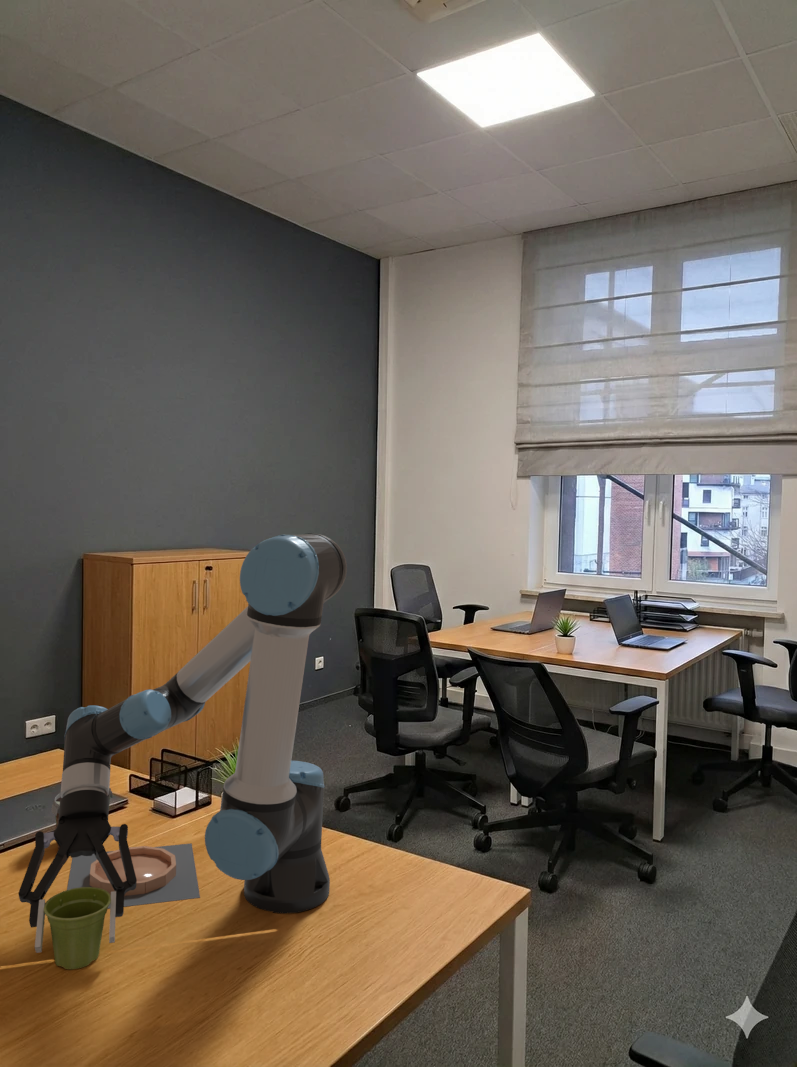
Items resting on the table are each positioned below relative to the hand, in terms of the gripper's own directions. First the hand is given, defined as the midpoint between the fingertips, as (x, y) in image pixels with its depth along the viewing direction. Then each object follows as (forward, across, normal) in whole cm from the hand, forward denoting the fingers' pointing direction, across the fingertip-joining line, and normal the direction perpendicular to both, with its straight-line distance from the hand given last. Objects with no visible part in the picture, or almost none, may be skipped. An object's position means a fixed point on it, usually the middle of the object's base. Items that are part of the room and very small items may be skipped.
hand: (75, 944), depth 115 cm
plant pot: (+1, 0, -5) cm, 5 cm away
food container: (-29, +3, -35) cm, 45 cm away
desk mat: (-16, -8, -22) cm, 29 cm away
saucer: (-17, -8, -22) cm, 28 cm away
